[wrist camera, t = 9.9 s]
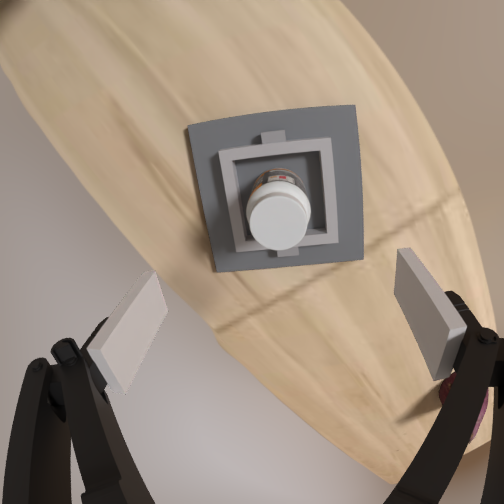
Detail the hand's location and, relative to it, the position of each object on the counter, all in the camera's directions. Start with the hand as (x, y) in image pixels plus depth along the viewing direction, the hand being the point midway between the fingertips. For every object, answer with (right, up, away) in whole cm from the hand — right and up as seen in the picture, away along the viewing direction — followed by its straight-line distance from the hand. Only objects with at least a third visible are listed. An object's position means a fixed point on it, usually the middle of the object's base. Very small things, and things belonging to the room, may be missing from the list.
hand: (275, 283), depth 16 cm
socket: (+2, +8, +18) cm, 20 cm away
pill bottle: (+2, +8, +17) cm, 19 cm away
